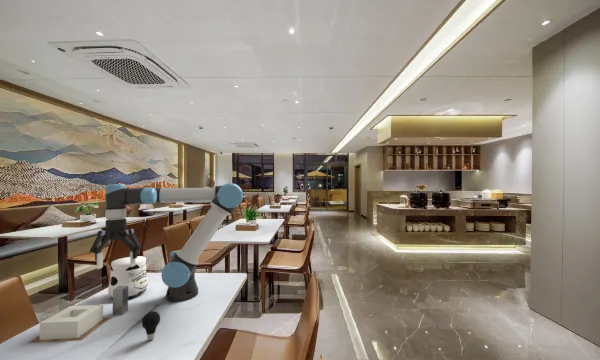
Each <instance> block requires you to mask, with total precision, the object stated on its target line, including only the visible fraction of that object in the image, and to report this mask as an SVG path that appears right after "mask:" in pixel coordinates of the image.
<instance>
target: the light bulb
mask: <svg viewBox="0 0 600 360" xmlns="http://www.w3.org/2000/svg"><path fill="white" fill-rule="evenodd" d="M160 322H161V315H160V313H159V312H158V311H155V310H152V311H149V312H147V313H146V314H144V316H143V317H142V320H141V326H142V327H143V329H144V330H145V334H146V339H147V340H148V341H152V340H153V339H154V338H155V337H156V330H157V328H158V326H159V324H160Z"/></svg>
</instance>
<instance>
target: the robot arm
mask: <svg viewBox="0 0 600 360" xmlns="http://www.w3.org/2000/svg"><path fill="white" fill-rule="evenodd" d="M243 192H244V191H243V190H242V188H241V186H239V185H238V184H236V183H233V182H227V183H225V184H223V185H215V186H213V187H131V188H130V187H127V185H126V184H125V183H114V184H113V183H109V184H107V185H106V186H105V194H104V196H105V197H104V198H105V199H104V201H105V205H104V206H105V211H104V212H105V216H104V217H105V230H104V229H100V230H98V231H97V234H96V235H97V236H96V239H95V240H94V242H93V243H92V246H91V248H90V250H89V252H90V253H94V260H95V262H96V269H97V270H100V269H102V268H103V267H104V252H102V251H103V250H104V249H105V247H107V245H108V244H109V242H111V241H121V242H123V243H124V244H125V245H126V247H128V248H129V250H130V252H129V257H130V267H133V266H135V258H137V256H138V251H140V250H142V249H143V246H142V244H141V242H140V241H139V239H138V237H137V235H136V234H135V229H134V228H130V229H127V206H130V205H134V206H135V205H153V204H160V203H171V204H172V203H210V202H211V203H210V204H211V206H210V208H209V209H208V211H207V213H206V214H205V215H204V217H203V218H202V220H201V221H200V223H199V224H198V226H197V227H196V228H195V230H194V232H192V234H191V236H190V237H189V239H188V240H187V241H186V242H185V244H184V246H183V247H181V249H178V250H173V251H171V252H170V253H169V261H168V263H167V264H166V265H165V266H164V267H163V269H162V272H161V280H162V283H163V284H165V285H166V286H167V291H166V292H165V299H166V301H168V302H173V303H174V302H178V303H179V302H184V301H189V300H191V299H193V298H195V297H196V296H198V294H199V286H198V284H197V281H196V278H195V277H196V275H195V274H196V273H195V271H196V268H197V266H198V265H199V258H200V256H201V254H202V253H203V252H204V250H205V249H206V247H207V246H208V244H209V243H210V242H211V240H212V238H213V237H214V235H215V234H216V233H217V232H218V230H219V228H220V227H221V226H222V224H223V223H224V220H226V218H227V216H232V214H233V213H234V211H235V210H236V209H237V208H238V206H239V205H240V204H241V203H242V201H243V199H244V193H243ZM105 235H106V237H105V238H104V236H105ZM128 236H129V237H128ZM103 238H104V239H103Z"/></svg>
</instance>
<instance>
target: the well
mask: <svg viewBox="0 0 600 360" xmlns="http://www.w3.org/2000/svg"><path fill="white" fill-rule="evenodd" d="M103 318H104V304H99V305H98V304H94V305H93V304H91V305H90V304H89V305H88V304H87V305H70V306H68V307H66V308H65V309H62V310H60V311H59V312H58V313H56V314H53V315H52V316H50V317H48V318H46V319H45V320H42V321H40V322H39V336H40V338H39V340H48V339H68V338H78V337H80V336H81V335H82V334H84V333H85V332H87V331H88V330H89V329H91V328H92V327H94V326H95V325H96V324H98V323H99V322H100V321H102V320H103Z"/></svg>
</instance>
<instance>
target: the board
mask: <svg viewBox="0 0 600 360" xmlns="http://www.w3.org/2000/svg"><path fill="white" fill-rule="evenodd" d="M112 318H113V317H103V320H102V321H100V322H99V323H98V324H96V325H95V326H94V327H92V328H91V329H89V330H88V331H87V332H85V333H84V334H82V335H81V336H80V337H78V338H68V339H48V340H39V338H40V335H38V336H37V337H35V338H33V339H31V340H30V341H28V342H27V344H33V343H48V342H49V343H51V342H52V343H53V342H56V343H57V342H70V341H71V342H72V341H76V342H77V341H83V340H84V339H86V338H87V337H88V336H89V335H90V334H92V333H93V332H95V331H96V330H97V329H99V327H102V326H103V325H104V324H105V323H107V322H109V320H111V319H112Z"/></svg>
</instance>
